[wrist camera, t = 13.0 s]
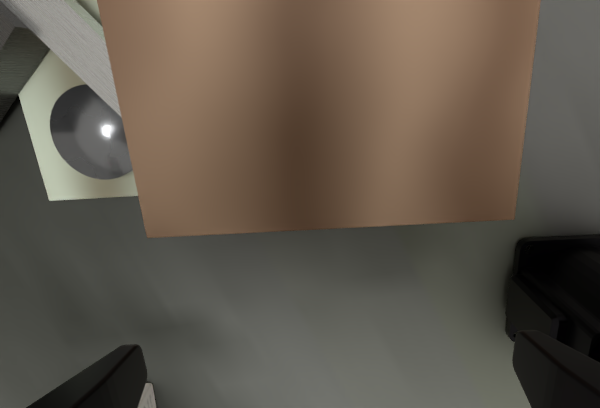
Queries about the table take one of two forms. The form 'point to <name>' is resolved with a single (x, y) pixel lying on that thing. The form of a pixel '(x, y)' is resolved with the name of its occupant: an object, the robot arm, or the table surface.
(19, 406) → the table surface
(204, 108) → the pale gradient board
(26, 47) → the brushed metal angle bracket
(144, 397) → the ink cartridge box
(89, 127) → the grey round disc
